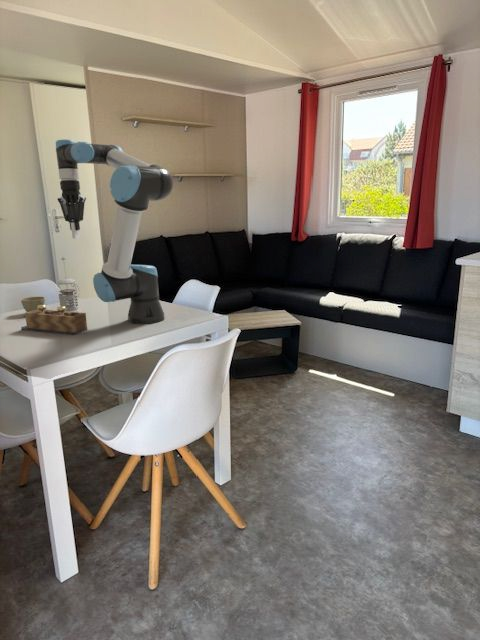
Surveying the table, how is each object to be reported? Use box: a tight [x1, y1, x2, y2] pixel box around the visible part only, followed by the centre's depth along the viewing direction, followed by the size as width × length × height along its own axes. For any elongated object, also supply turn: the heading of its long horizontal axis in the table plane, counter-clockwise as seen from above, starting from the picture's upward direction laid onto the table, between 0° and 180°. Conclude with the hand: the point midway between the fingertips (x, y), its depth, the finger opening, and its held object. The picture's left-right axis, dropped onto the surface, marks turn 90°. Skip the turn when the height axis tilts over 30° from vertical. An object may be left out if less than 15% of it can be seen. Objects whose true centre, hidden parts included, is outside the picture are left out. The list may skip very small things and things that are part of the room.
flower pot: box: [20, 296, 46, 313], centre depth 212 cm, size 10×10×7 cm
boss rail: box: [20, 304, 88, 336], centre depth 183 cm, size 26×8×10 cm, turn 68°
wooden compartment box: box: [24, 309, 88, 333], centre depth 183 cm, size 24×7×6 cm, turn 67°
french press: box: [56, 256, 82, 312], centre depth 214 cm, size 10×12×25 cm
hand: (76, 238), depth 197 cm, fingers closed
